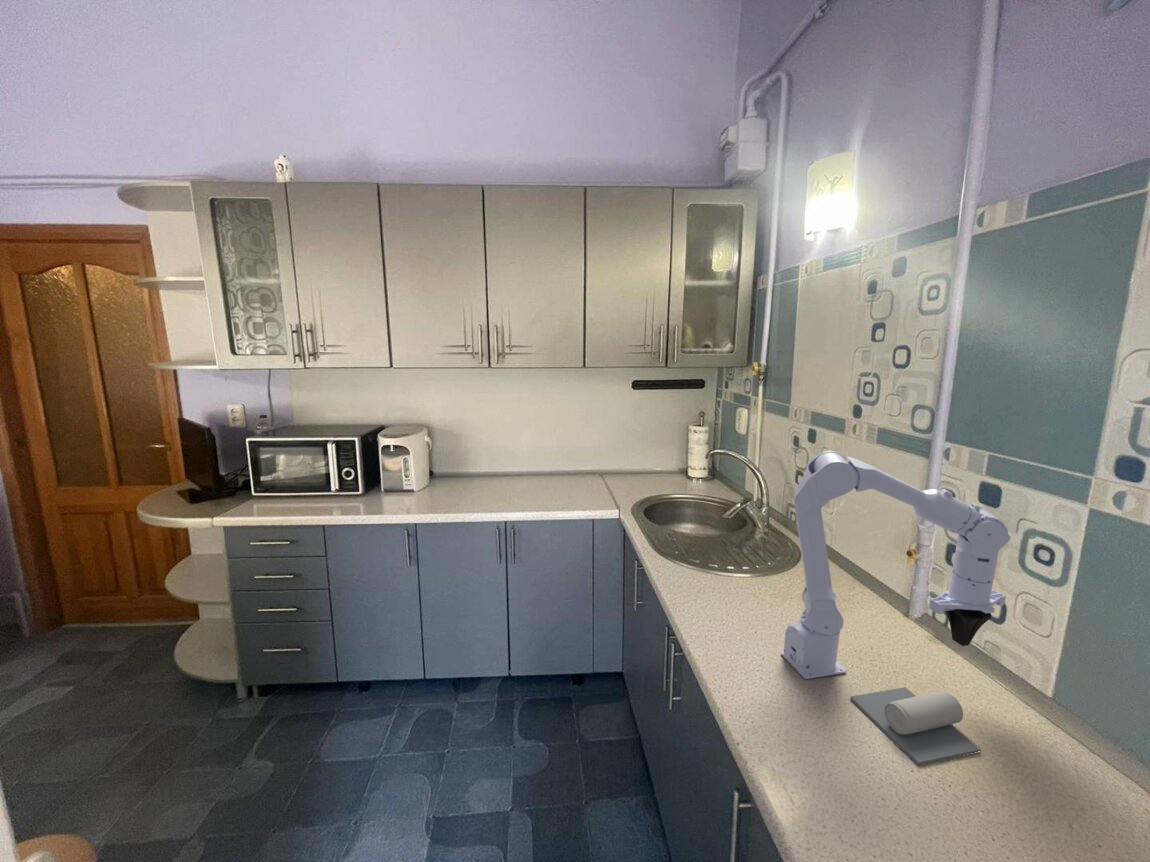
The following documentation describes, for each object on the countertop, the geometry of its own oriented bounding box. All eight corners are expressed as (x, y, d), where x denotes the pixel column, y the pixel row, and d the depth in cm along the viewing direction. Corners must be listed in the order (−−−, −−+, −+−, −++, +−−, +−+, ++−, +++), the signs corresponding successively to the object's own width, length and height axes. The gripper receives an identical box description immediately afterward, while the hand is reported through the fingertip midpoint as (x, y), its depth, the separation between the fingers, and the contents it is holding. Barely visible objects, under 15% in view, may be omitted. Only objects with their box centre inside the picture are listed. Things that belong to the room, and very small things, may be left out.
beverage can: (947, 685, 82) (892, 697, 79) (971, 714, 78) (914, 727, 75) (932, 698, 85) (878, 710, 82) (954, 727, 81) (899, 740, 78)
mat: (918, 765, 73) (918, 762, 73) (850, 699, 87) (850, 696, 87) (980, 752, 76) (980, 749, 76) (904, 689, 89) (905, 687, 89)
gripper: (961, 591, 79) (948, 661, 82) (1029, 582, 82) (1015, 651, 84) (923, 570, 86) (912, 637, 88) (987, 563, 89) (975, 627, 91)
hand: (960, 642), depth 87 cm, fingers closed
